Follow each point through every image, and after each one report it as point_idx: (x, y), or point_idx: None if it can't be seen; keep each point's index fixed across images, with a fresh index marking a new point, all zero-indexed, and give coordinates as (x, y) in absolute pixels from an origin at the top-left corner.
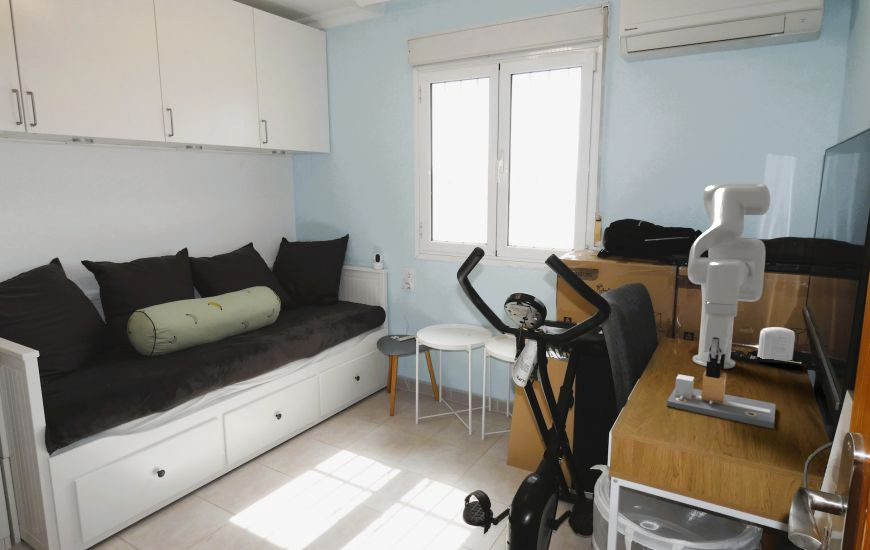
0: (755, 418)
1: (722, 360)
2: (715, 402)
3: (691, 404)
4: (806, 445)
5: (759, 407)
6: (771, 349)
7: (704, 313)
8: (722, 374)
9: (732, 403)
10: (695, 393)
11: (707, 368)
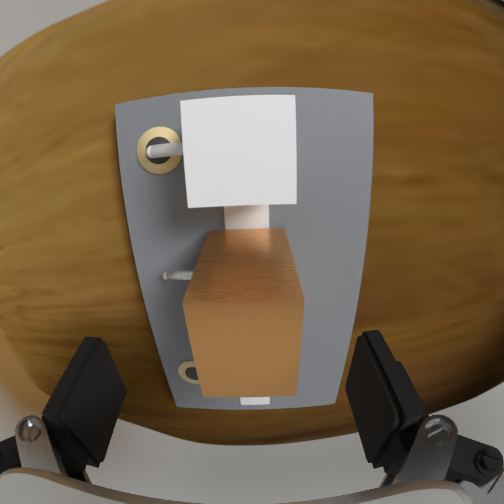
0: (172, 379)
1: (361, 427)
2: None
3: (140, 200)
4: (142, 423)
5: None
6: None
7: None
8: (263, 386)
9: None
10: (302, 188)
11: (66, 377)
